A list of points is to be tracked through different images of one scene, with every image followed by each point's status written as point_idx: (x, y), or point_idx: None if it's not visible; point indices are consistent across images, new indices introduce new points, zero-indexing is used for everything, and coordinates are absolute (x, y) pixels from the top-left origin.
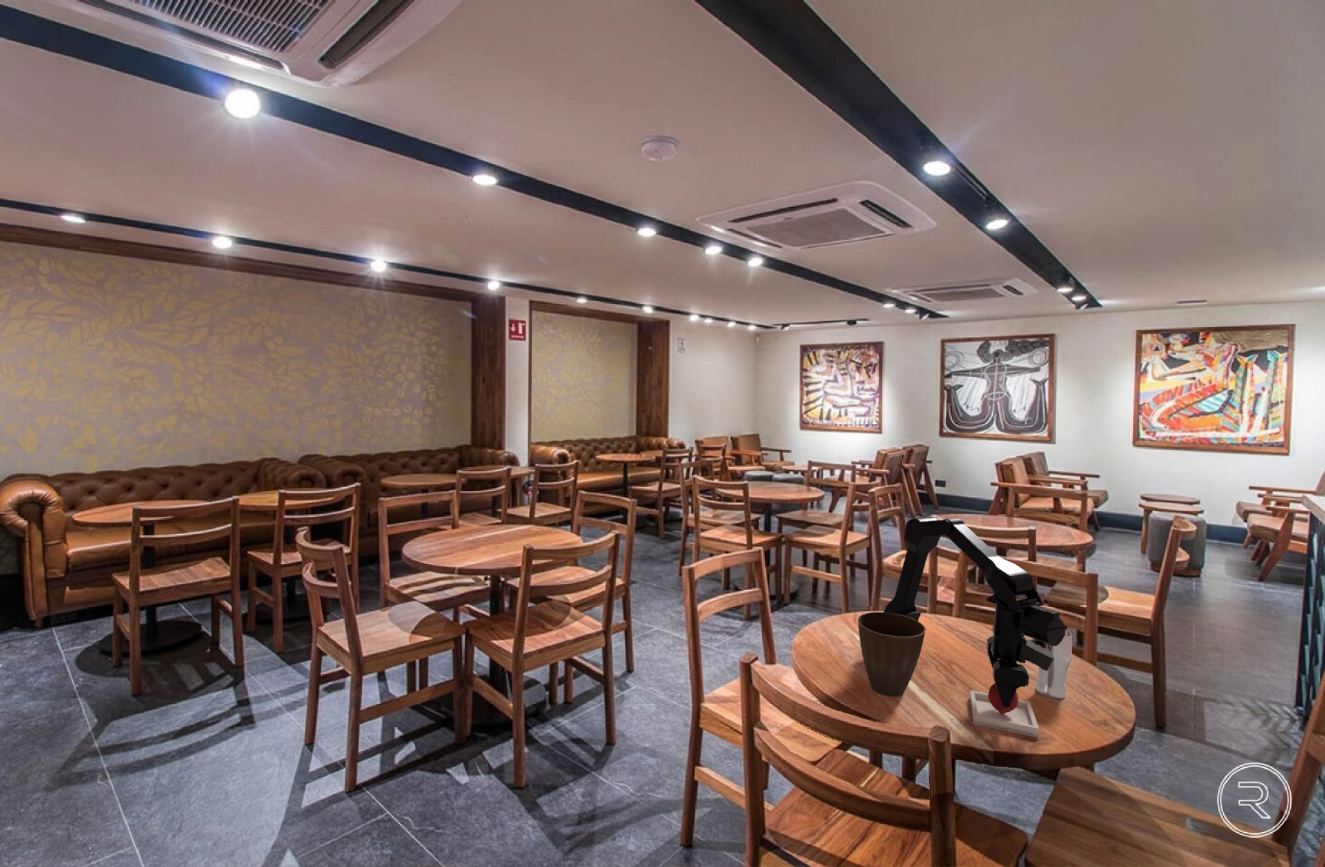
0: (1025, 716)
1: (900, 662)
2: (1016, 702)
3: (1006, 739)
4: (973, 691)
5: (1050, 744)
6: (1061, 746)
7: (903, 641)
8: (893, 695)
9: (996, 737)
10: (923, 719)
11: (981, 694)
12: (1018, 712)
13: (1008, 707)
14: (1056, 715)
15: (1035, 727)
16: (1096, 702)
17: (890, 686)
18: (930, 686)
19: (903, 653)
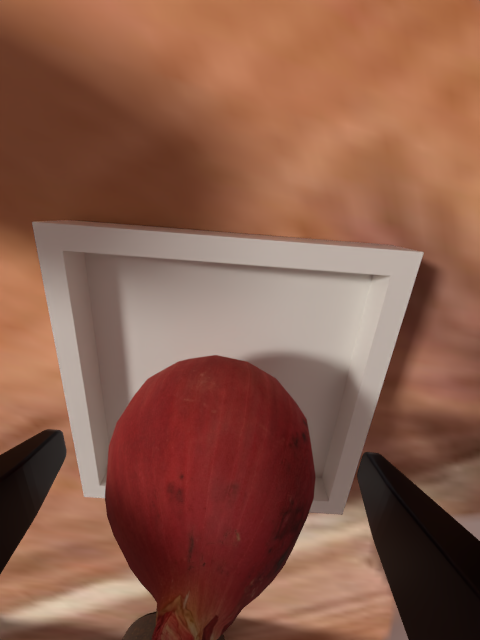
0: (204, 272)
1: None
2: (277, 394)
3: (431, 388)
4: (90, 486)
5: (453, 191)
6: (470, 126)
7: None
8: (222, 635)
9: (421, 419)
10: (341, 585)
11: (96, 457)
12: (170, 301)
13: (377, 454)
14: (39, 35)
15: (411, 269)
16: None
17: None
18: (82, 554)
19: None
